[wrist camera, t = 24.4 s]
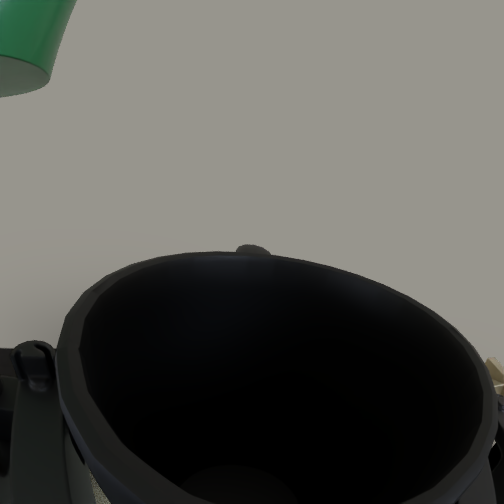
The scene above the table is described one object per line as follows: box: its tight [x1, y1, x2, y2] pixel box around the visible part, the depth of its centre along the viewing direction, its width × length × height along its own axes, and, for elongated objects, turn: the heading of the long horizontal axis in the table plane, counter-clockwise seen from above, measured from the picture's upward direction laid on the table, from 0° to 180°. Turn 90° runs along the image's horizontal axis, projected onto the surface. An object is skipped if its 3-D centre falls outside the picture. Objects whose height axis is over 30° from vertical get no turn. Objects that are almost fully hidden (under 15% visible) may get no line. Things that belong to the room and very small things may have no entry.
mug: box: [55, 245, 498, 504], centre depth 8 cm, size 8×12×10 cm
